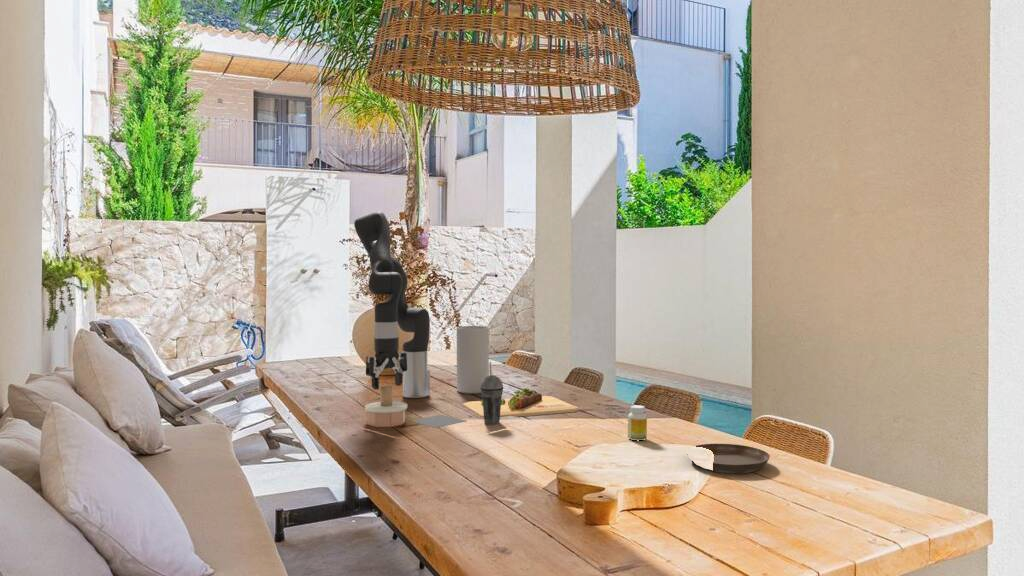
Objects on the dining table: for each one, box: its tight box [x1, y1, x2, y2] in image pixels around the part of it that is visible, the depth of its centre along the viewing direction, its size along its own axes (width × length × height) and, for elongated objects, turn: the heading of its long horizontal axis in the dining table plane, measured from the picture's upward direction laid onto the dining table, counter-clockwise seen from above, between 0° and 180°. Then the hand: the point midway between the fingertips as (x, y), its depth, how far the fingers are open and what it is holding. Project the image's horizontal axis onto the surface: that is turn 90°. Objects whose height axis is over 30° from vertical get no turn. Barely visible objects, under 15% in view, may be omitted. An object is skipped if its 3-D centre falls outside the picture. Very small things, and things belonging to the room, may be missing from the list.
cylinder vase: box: [456, 325, 490, 395], centre depth 287 cm, size 12×12×25 cm
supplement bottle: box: [627, 404, 648, 441], centre depth 213 cm, size 5×5×10 cm
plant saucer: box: [695, 443, 771, 475], centre depth 188 cm, size 21×21×3 cm
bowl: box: [366, 410, 406, 428], centre depth 231 cm, size 11×11×5 cm
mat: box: [410, 414, 467, 429], centre depth 234 cm, size 13×13×1 cm
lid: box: [364, 384, 408, 413], centre depth 231 cm, size 13×13×7 cm
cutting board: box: [462, 387, 579, 418], centre depth 255 cm, size 35×23×8 cm
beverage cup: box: [480, 361, 504, 426], centre depth 231 cm, size 7×7×20 cm
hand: (387, 387), depth 231 cm, fingers open, 8 cm apart
